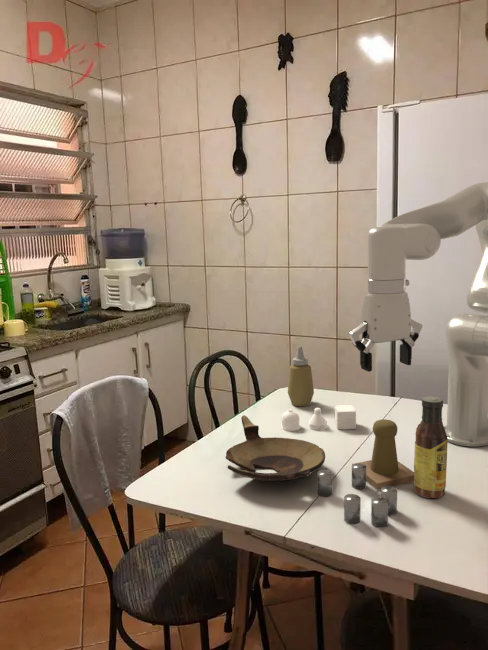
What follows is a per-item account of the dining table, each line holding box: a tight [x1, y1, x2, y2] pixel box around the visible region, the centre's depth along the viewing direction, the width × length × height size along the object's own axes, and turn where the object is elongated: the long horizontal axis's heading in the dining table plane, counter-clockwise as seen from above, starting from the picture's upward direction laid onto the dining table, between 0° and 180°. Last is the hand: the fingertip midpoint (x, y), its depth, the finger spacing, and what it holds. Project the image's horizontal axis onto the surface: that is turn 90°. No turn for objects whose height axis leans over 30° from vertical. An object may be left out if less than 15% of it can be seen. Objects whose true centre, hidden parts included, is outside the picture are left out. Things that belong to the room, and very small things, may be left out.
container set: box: [280, 404, 357, 432], centre depth 148 cm, size 20×5×6 cm, turn 87°
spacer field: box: [317, 462, 398, 529], centre depth 107 cm, size 11×17×4 cm, turn 19°
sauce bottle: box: [413, 396, 449, 499], centre depth 109 cm, size 6×6×20 cm
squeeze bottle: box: [287, 346, 315, 407], centre depth 165 cm, size 8×8×18 cm
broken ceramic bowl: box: [225, 414, 326, 482], centre depth 124 cm, size 22×30×8 cm
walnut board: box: [351, 459, 414, 491], centre depth 119 cm, size 10×10×2 cm
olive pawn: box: [371, 418, 399, 475], centre depth 118 cm, size 6×6×11 cm
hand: (386, 366), depth 115 cm, fingers open, 9 cm apart
